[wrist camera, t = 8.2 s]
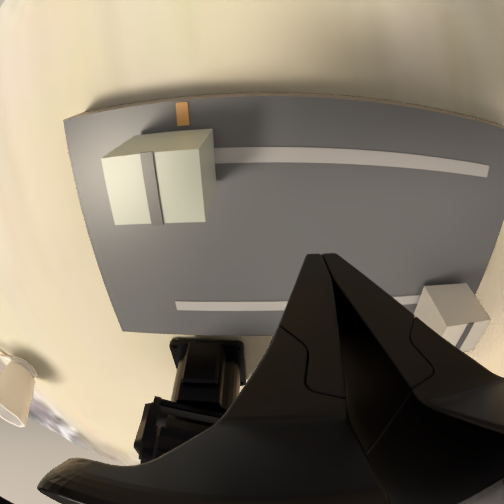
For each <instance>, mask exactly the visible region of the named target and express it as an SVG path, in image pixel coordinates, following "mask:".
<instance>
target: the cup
mask: <svg viewBox="0 0 504 504" xmlns="http://www.w3.org/2000/svg"><path fill="white" fill-rule="evenodd" d="M0 359H7V360H9V361H11V362H10V363H9V364H8V365H7V366H6V367H5V368H4V369H3V370H2V371H1V372H0V417H1V418H2V419H4V420H5V421H7V422H9V423H11V424H13V425H15V426H17V427H25V426H26V422H27V418H28V413H29V408H30V405H31V401H32V397H33V391H34V385H35V380H34V378H35V377H36V376H37V375H38V374H37V372H36V370H35V368H34V367H33V366H32V365H31V364H29V363H28V362H27V361H26V360H25V359H23V358H20V357H17V356H14V357H13V358H12V357H10V356H8V355H3V354H0Z"/></svg>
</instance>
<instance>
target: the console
mask: <svg viewBox="0 0 504 504" xmlns="http://www.w3.org/2000/svg"><path fill="white" fill-rule="evenodd" d="M63 121H64V127H65V134H66V139H67V145H68V151H69V156H70V161H71V166H72V170H73V175H74V180H75V184H76V188H77V193H78V197H79V201H80V205H81V209H82V212H83V216H84V220H85V223H86V227H87V231H88V234H89V237H90V241H91V244H92V247H93V251H94V254H95V257H96V260H97V263H98V266H99V269H100V272H101V275H102V278H103V281H104V284H105V287H106V289H107V292H108V295H109V298H110V300H111V303H112V306H113V308H114V311H115V313H116V316H117V319H118V321H119V324H120V326H121V328H122V331H127V332H142V333H159V334H182V335H222V336H264V335H274V334H275V332H276V329H277V327H278V325H279V322H280V320H281V317H282V315H283V313H284V310H285V308H286V305H287V303H288V300H289V298H290V295H291V292H292V290H293V287H294V285H295V282H296V280H297V277H298V275H299V272H300V269H301V267H302V264H303V262H304V259H305V256H306V255H307V254H318V253H319V254H321V255H322V254H323V253H336V254H338V255H339V256H341V257H342V258H343V259H344V260H346V261H347V262H348V263H350V264H351V265H352V266H354V267H355V268H356V269H357V270H359V271H360V272H361V273H363V274H364V275H365V276H366V277H368V278H369V279H370V280H372V281H373V282H374V283H375V284H377V285H378V286H379V287H380V288H382V289H383V290H384V291H386V292H387V293H388V294H389V295H391V296H392V297H393V298H394V299H395V300H397V301H398V302H399V303H400V304H402V305H403V306H404V307H405V308H407V309H408V310H409V311H410V312H412V313H413V314H414V312H415V309H416V306H417V304H418V301H419V299H420V296H421V293H422V290H423V288H424V286H432V285H447V284H461V283H467V285H468V286H469V287H470V289H471V290H472V292H473V293H474V295H475V293H476V291H477V289H478V287H479V284H480V282H481V280H482V277H483V275H484V273H485V270H486V268H487V265H488V263H489V260H490V257H491V255H492V252H493V249H494V247H495V244H496V241H497V238H498V235H499V232H500V229H501V226H502V223H503V220H504V126H503V125H500V124H496V123H493V122H489V121H486V120H482V119H478V118H475V117H471V116H467V115H463V114H458V113H454V112H450V111H445V110H440V109H435V108H430V107H425V106H420V105H414V104H408V103H402V102H395V101H388V100H381V99H373V98H364V97H354V96H343V95H330V94H313V93H280V92H259V93H226V94H209V95H195V96H184V97H174V98H165V99H157V100H150V101H143V102H136V103H130V104H123V105H118V106H112V107H107V108H102V109H97V110H92V111H87V112H83V113H80V114H78V115H75V116H73V117H70V118H67V119H65V120H63ZM197 129H213V140H214V156H215V171H216V185H217V186H216V189H215V192H214V195H213V199H212V202H211V205H210V208H209V212H208V215H207V218H206V222H184V223H164V225H160V226H152V224H128V225H115V223H114V218H113V214H112V210H111V205H110V201H109V196H108V192H107V187H106V182H105V177H104V172H103V166H102V161H101V158H102V157H104V156H105V155H107V154H108V153H110V152H111V151H112V150H114V149H115V148H117V147H118V146H120V145H121V144H123V143H124V142H126V141H127V140H129V139H130V138H132V137H133V136H135V135H143V134H152V133H161V132H172V131H184V130H197Z"/></svg>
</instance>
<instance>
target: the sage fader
mask: <svg viewBox="0 0 504 504" xmlns="http://www.w3.org/2000/svg"><path fill="white" fill-rule="evenodd" d="M101 161H102V166H103V172H104V177H105V182H106V187H107V192H108V196H109V201H110V205H111V210H112V214H113V218H114V223H115V225H128V224H152V226H160V225H164V223H184V222H206V218H207V215H208V212H209V208H210V205H211V202H212V199H213V195H214V192H215V189H216V186H217V185H216V171H215V156H214V140H213V129H197V130H184V131H172V132H161V133H152V134H143V135H135V136H133V137H132V138H130V139H129V140H127V141H126V142H124V143H123V144H121V145H120V146H118V147H117V148H115V149H114V150H112V151H111V152H110V153H108V154H107V155H105V156H104V157H102V158H101Z"/></svg>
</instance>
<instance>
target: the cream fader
mask: <svg viewBox="0 0 504 504" xmlns="http://www.w3.org/2000/svg"><path fill="white" fill-rule="evenodd" d="M414 315H415V317H418V318H419V319H420V320H421V321H423V322H424V323H425V324H426V325H427V326H429V327H430V328H431V329H433V330H434V331H435V332H436V333H438V334H439V335H440V336H441V337H443V338H444V339H446V340H447V341H448V342H450V343H451V344H452V345H454V346H455V347H457V348H458V349H459V350H461V351H462V352H465V351H470V350H474V348H475V347H476V345H477V343H478V342H479V340H480V338H481V337H482V335H483V333H484V332H485V330H486V328H487V326H488V325H489V323H490V321H491V319H490V317H489V316H488V314H487V312H486V311H485V309H484V308H483V306H482V305H481V303H480V302H479V300H478V299H477V297H476V296H475V295H474V293H473V292H472V290H471V289H470V287H469V286H468V285H467V283H461V284H447V285H432V286H424V288H423V290H422V293H421V296H420V299H419V301H418V304H417V306H416V309H415V312H414ZM415 317H414V318H415Z"/></svg>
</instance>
